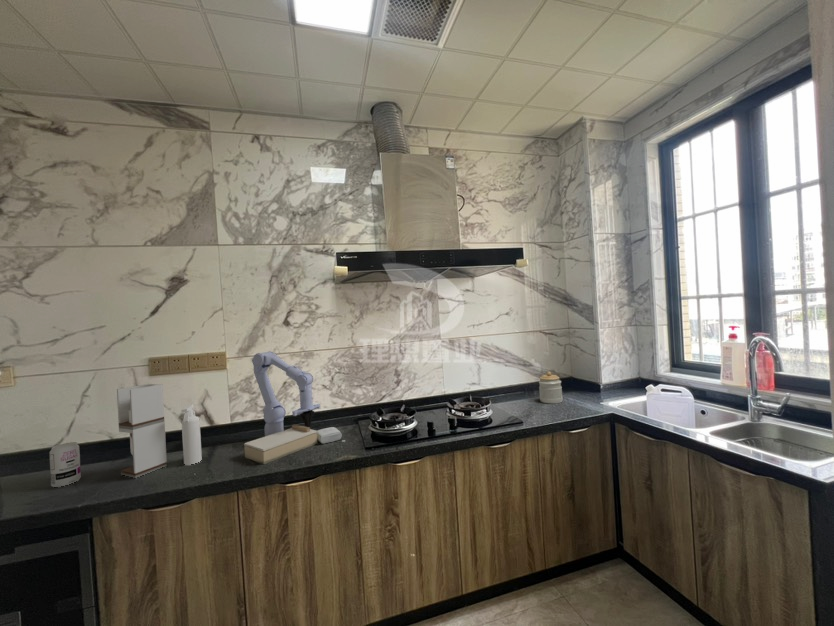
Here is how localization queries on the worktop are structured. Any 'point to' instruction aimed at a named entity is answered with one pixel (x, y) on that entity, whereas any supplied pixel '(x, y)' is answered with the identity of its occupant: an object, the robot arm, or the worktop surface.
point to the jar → (550, 389)
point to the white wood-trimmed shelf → (143, 427)
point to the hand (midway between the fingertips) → (307, 426)
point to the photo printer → (328, 435)
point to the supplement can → (65, 464)
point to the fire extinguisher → (191, 436)
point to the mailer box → (280, 449)
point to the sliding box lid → (280, 438)
